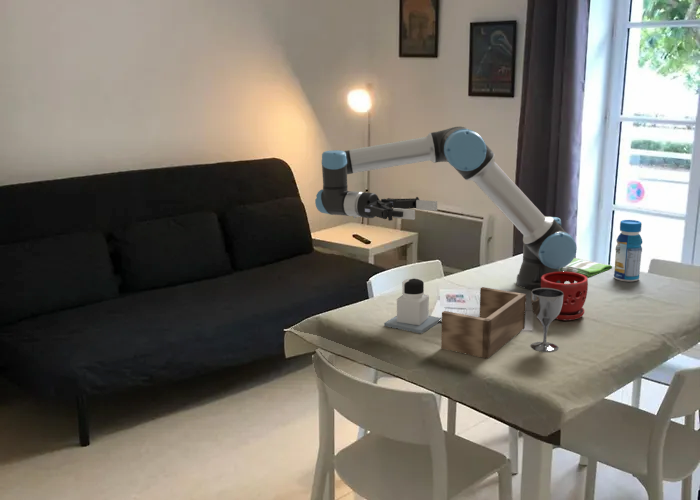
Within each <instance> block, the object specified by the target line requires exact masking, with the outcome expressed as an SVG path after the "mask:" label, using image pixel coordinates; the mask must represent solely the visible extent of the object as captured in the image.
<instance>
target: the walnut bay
mask: <svg viewBox="0 0 700 500" xmlns="http://www.w3.org/2000/svg"><path fill="white" fill-rule="evenodd" d="M479 291H480V294H479V295H480V296H479V316H475V315H474V316H473V315H470V314H469V315H468V314H463V313H458V312H453V311H446V310H443V311H442V312H441V339H440V340H441V342H440V343H441V345H440V346H441V347H440V348H442V349H441V350H445V349H447V350H446V351H450V350H452V351H451V352H454V351H457V352H456V353H459V352H461V353H460V354H463V353H466V354H465V355H468V354H469V356H473V357H479V358H483V359H489V358H490V357H492V356H493V355H494V354H495V353H497V352H498V351H499V350H501V348H502V347H503V346H505V345H506V344H507V343H509V342H510V341H511V340H512V339H513V338H514V337H516V336H517V335H518V334H520V331H521V330H522V329H523V330H524V329H526V327H525V325H526V303H527V293H522V292H515V291H509V290H503V289H496V288H491V287H485V286H484V287H483V286H482V287H480V289H479ZM523 330H522V331H523ZM522 331H521V332H522Z"/></svg>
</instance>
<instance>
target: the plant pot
mask: <svg viewBox="0 0 700 500" xmlns="http://www.w3.org/2000/svg"><path fill="white" fill-rule="evenodd" d="M588 280H589V279H588V277H586V276H584V275H582V274H579V273H574V272H563V271H561V272H551V273H547V274H544V275H543V276H542V277H541V288H553V289H557V290H560V291H562V292H563V304H562V308H561V311H560V314H559V315H558V316H557V317H556V318H555V319H554V320H559V321H573V320H577V319H580V318H582V316H583V315H584V314H585V311H586V310H585V309H584V308H583V307H584V305H585V303H586V299H587V295H588V289H589V288H588V287H589V281H588ZM557 281H560V283H556V282H557ZM566 282H569V283H566Z"/></svg>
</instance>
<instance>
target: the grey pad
mask: <svg viewBox="0 0 700 500" xmlns="http://www.w3.org/2000/svg"><path fill="white" fill-rule="evenodd" d="M440 319H441V320H442V317H438V316H431V315H428V319H427V320H425V321H424V322H423V323H422V324H421V325H412V324H406V323H399V322H397V315H396V316H394V317H391V318H390V319H388V320H386V321H385V322H383V324H384V327H386V326H388V328H391V327H392V329H396V328H398V329H397V330H401V329H403V330H402V331H405V330H407V332H410V331H412V332H411V333H415V332H416V334H420V333H422V334H423V332H424V333H425V332H427V331H428V330H430V329H432V328H433V327H435V326H436V325H437V323H438V322H439V320H440ZM439 323H440V322H439ZM439 323H438V324H439ZM434 325H435V326H434ZM426 330H427V331H426Z"/></svg>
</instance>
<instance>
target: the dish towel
mask: <svg viewBox="0 0 700 500" xmlns="http://www.w3.org/2000/svg"><path fill="white" fill-rule="evenodd" d="M611 269H613V266H612V265H611V264H604V263H600V262H594V261H588V260H583V259H580V258H575V257H574V259H573V260H572V261H571V263H569V264H568V265H567V266H565V267H563V268H560V270H561V271H564V272H574V273H579V274H582V275H584V276H586V277H587V278H590V277H593V276H595V275H598V274H601V273H603V272H606V271H608V270H611Z"/></svg>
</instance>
